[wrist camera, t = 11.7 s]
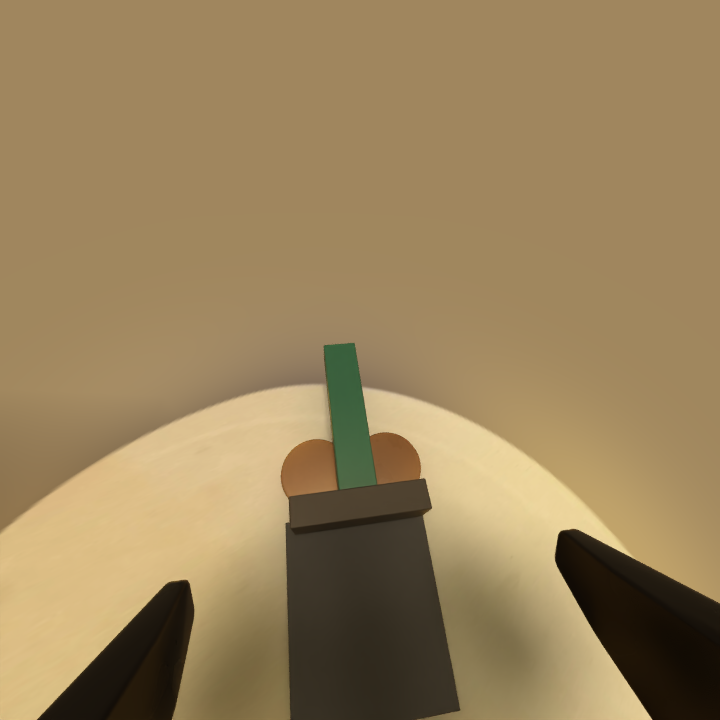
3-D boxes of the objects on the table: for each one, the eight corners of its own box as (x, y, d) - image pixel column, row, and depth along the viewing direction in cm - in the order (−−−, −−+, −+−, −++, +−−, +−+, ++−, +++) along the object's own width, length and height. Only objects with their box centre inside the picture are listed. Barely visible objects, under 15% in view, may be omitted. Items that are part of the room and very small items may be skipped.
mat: (459, 709, 17) (460, 710, 17) (291, 743, 16) (291, 745, 16) (420, 505, 21) (420, 505, 21) (285, 523, 20) (285, 522, 20)
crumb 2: (430, 464, 22) (433, 461, 21) (391, 518, 21) (394, 517, 20) (379, 424, 23) (381, 419, 22) (339, 472, 22) (339, 469, 21)
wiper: (432, 508, 18) (392, 337, 23) (289, 529, 17) (283, 346, 22) (422, 516, 20) (388, 357, 25) (294, 535, 19) (287, 366, 24)
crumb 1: (363, 478, 22) (364, 475, 21) (312, 528, 20) (311, 527, 19) (320, 430, 23) (320, 425, 22) (269, 474, 21) (266, 470, 20)
